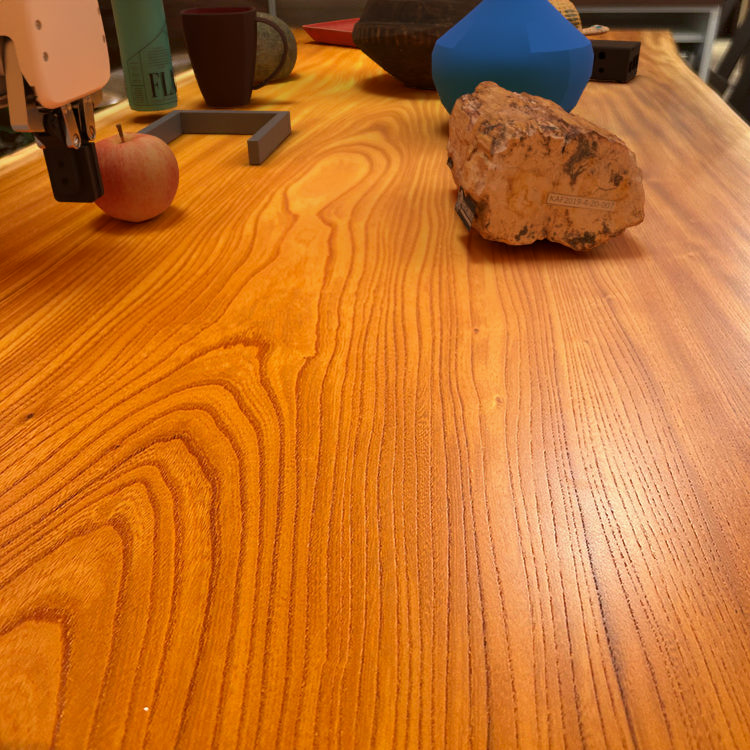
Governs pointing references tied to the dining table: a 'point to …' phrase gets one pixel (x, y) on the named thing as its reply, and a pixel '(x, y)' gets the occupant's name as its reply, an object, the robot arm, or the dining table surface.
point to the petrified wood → (539, 172)
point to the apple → (136, 176)
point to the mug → (225, 52)
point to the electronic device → (615, 60)
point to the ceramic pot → (407, 35)
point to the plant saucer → (332, 32)
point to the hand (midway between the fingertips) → (80, 198)
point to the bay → (227, 127)
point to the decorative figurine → (576, 18)
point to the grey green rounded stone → (273, 49)
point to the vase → (513, 53)
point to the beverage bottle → (145, 54)
